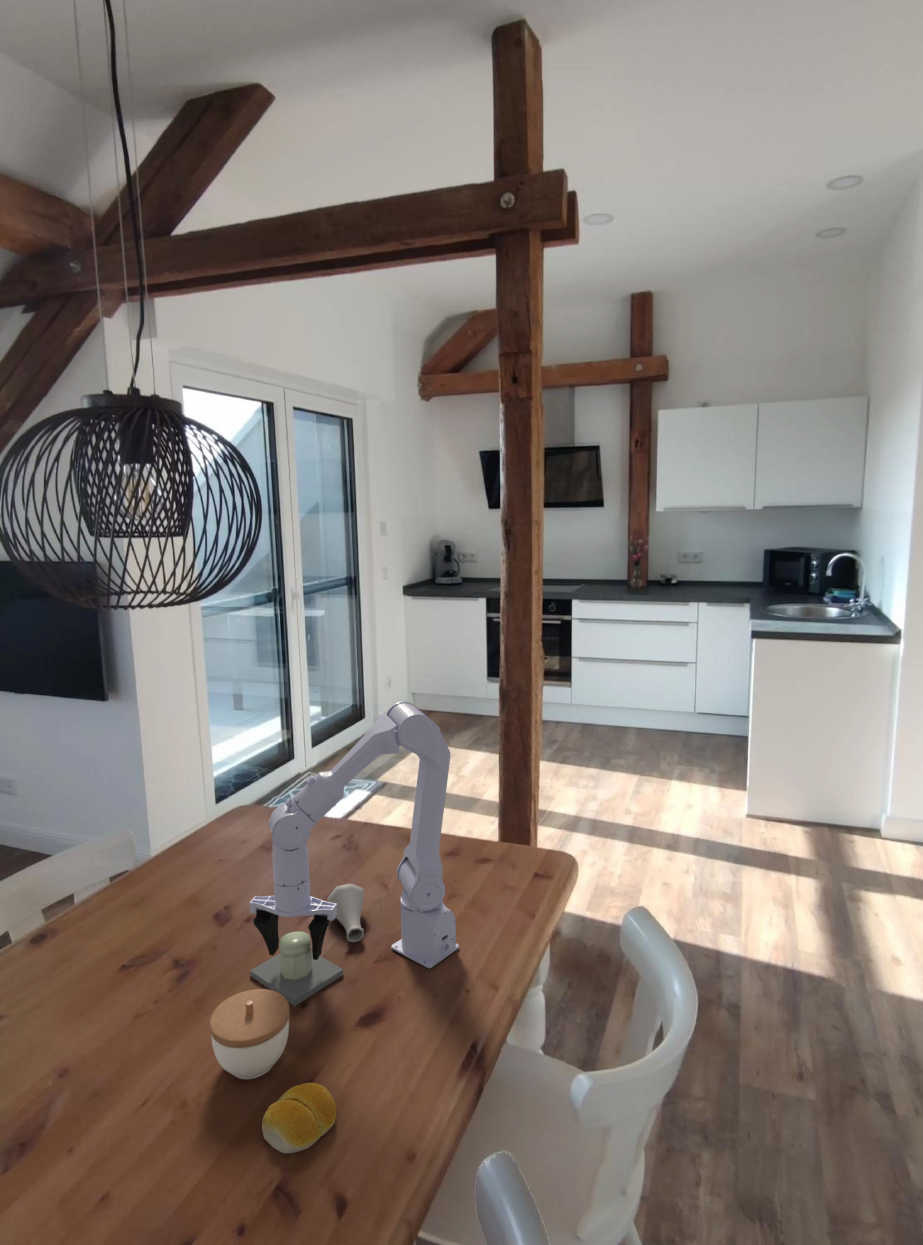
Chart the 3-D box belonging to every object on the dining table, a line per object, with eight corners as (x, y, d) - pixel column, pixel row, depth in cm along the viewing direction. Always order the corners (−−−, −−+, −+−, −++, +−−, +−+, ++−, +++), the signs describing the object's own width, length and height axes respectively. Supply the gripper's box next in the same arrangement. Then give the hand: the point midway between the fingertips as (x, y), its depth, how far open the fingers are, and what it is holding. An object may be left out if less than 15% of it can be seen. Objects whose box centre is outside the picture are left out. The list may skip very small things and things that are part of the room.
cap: (316, 963, 123) (315, 933, 122) (303, 981, 118) (301, 951, 117) (289, 959, 124) (287, 929, 123) (275, 977, 119) (273, 947, 118)
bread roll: (348, 1116, 93) (347, 1088, 93) (295, 1167, 86) (293, 1138, 85) (304, 1087, 98) (303, 1060, 97) (250, 1133, 91) (248, 1105, 90)
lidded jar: (307, 1052, 104) (304, 993, 103) (251, 1105, 95) (247, 1040, 93) (254, 1026, 109) (250, 969, 108) (196, 1073, 100) (191, 1012, 99)
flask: (369, 884, 139) (380, 920, 130) (357, 915, 141) (367, 953, 132) (333, 880, 136) (342, 917, 127) (321, 912, 138) (330, 950, 129)
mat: (343, 974, 121) (343, 969, 121) (294, 1006, 114) (294, 1000, 113) (298, 948, 129) (298, 942, 129) (250, 975, 121) (250, 970, 121)
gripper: (342, 869, 121) (345, 943, 123) (261, 863, 124) (265, 936, 126) (327, 891, 114) (330, 969, 116) (241, 884, 117) (246, 960, 119)
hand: (295, 954), depth 121 cm, fingers open, 7 cm apart
